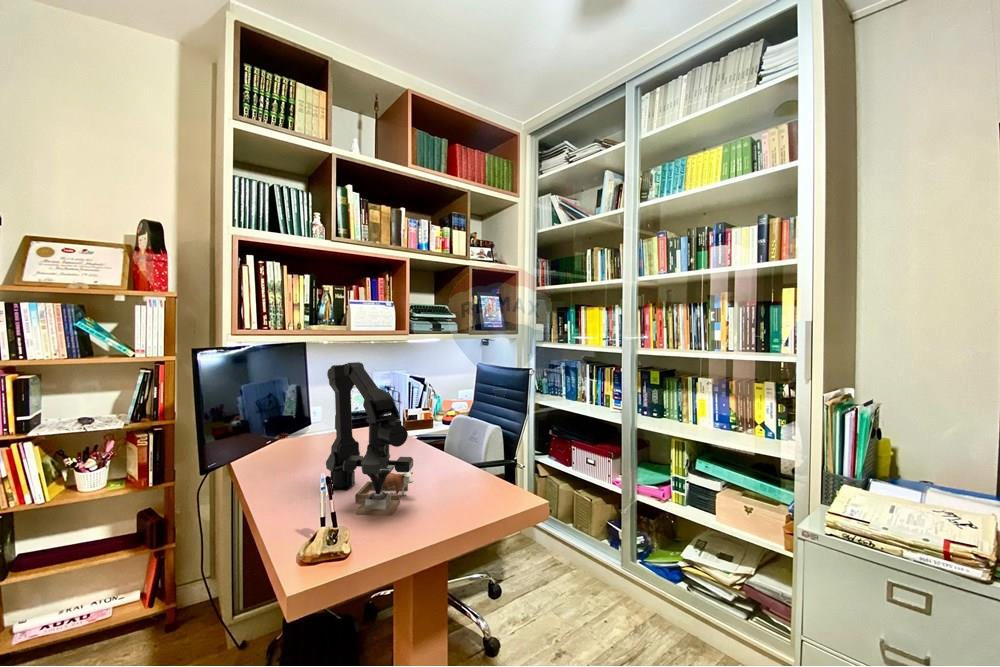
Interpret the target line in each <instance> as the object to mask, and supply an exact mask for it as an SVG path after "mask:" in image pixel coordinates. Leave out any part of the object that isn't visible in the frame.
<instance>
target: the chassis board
mask: <svg viewBox="0 0 1000 667" xmlns="http://www.w3.org/2000/svg"><path fill="white" fill-rule="evenodd" d="M408 490H409V484H407V486H406V487H405V488H404V492H407V491H408ZM370 491H371V492H370ZM372 491H375V489H374V486H373V483H372V481H371V480H370V481H369V480H368V481H367V482H366V483H364V485H363V486H362V487H361V488H360V489H359V490H358V491H357V492H356V493H355V496H354V497H355V500H354V502H355V504H360V505H359V506H358V507H357V509H356V515H365V516H366V515H368V516H369V515H370V516H371V515H372V516H393V515H394V513H395V512H396V510H397V508H398V507H399V505H400V504H401V494H398V495H396V493H395V494H392V493H391V492H396V488H395V487H392V488H390V489H388V487H386V486H385V485H383V487H382V491H383V492H384V493H385V499H384V500H375V499H372V494H373V493H375V492H376V491H375V492H372ZM385 491H388V492H385ZM369 492H370V493H369ZM399 492H402V490H399Z"/></svg>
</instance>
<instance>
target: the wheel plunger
mask: <svg viewBox="0 0 1000 667" xmlns="http://www.w3.org/2000/svg"><path fill="white" fill-rule="evenodd" d="M385 493H386V492H385V491H383V492H380V494H376V491H375V493H373V494H372V499H375V500H384V499H385Z"/></svg>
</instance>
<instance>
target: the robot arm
mask: <svg viewBox="0 0 1000 667" xmlns="http://www.w3.org/2000/svg"><path fill="white" fill-rule="evenodd" d="M327 379H328V383H329V385H328V386H330V388H331V389H332V390H333V392H334V399H335V400H334V401H335V402H334V404H335V405H334V406H335V407H334V408H335V409H334V410H335V429H336V430H335V434H336V438H335V439H334V442H333V443H332V444H331V447H330V449H331V451H330V454H329V456H328V458H327V459H326V461H325V466H326V469H327V470H328V471H329V472H330V481H331V480H332V484H333V490H334V491H335V490H336V491H348V490H350V489H351V488H352V487H353V486H354V484H356V476H355V474H356V472H355V470H356V469H357V467H358V468H359V467H361V473H362V474H363V475H367V476H368V477H369V478H370V482H372V483H373V486H374V489H375V490H374V491H375V492H376V494H380V492H381V490H382V487H383V484H384V482H385V479H386V477H387V475H388V474H390V473H392V471H395V472H396V473H398V472H404V473H407V472H410V471H411V470H412V468H413V467H414V459H413V457H412V456H398V458H397V460H393V459H391V454H390V446H392V447H395V448H398V447H401V446H403V445H404V444H405V443H406V441H407V439H408V435H409V432H408V430H407V428H406V427H405V426H404V425H402V420H400V419H401V416H400V411H399V410H398V407H397V405H396V402H395V400H394V399H393V397H392V395H391V394H390V393H388V392H387V391H386V390H384V389H381V388H379V387H378V386H377V384H376V382H374V380H373V379H372V377H371V376H370V375H369V373H368V372H367V370H366V369H365V367H364V364H363V363H362V362H360V361H356V362H355V361H354V362H347V363H345V364H335V365H331V366H330V368H329V369H328V370H327ZM354 387H355V388H356V389H357V390H358V392H359V393H360V395H361V397H362V398H363V403H362V404H363V405H362V406H363V408H364V411H365V413H366V415H367V416H368V417H367V418H366V419H365V421H366V422H367V423H368V444H367V445H366V446H367V447H366V452H365V455H364V456H363V455H361V452H360V443H359V441H356V439H355V438H354V437H353V419H352V394H351V393H352V390H353V389H354ZM390 459H391V460H390ZM333 490H332V491H333Z"/></svg>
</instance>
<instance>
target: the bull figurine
mask: <svg viewBox="0 0 1000 667" xmlns="http://www.w3.org/2000/svg"><path fill="white" fill-rule="evenodd" d="M413 474H414V472H413V471H411V472H410V471H409V472H407V473H404V472H390V474H388V475H387V477H386V479H385V482H384V484H383V485H385V486H386V487H388V489H390V488H392V487H395V488H396V491H395V495H399V492H400V491H399V490H402V491H401V496H403V497H405V496H407V494H406V491H404V488H405V487H406V486H407V484H408V485H409V484H413V483H414V480H413V478H412V477H413ZM381 492H384V491H382V490H381Z"/></svg>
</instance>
